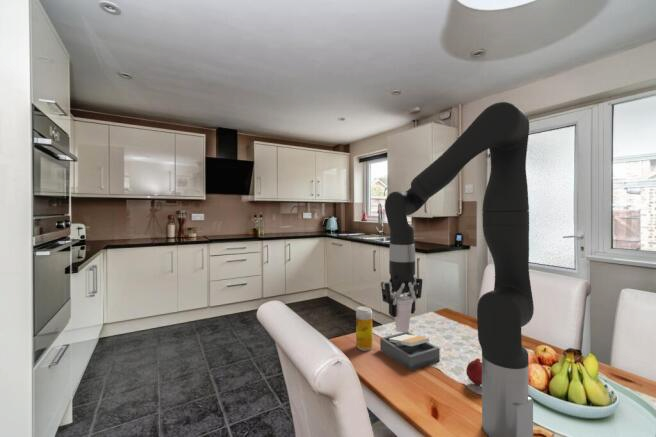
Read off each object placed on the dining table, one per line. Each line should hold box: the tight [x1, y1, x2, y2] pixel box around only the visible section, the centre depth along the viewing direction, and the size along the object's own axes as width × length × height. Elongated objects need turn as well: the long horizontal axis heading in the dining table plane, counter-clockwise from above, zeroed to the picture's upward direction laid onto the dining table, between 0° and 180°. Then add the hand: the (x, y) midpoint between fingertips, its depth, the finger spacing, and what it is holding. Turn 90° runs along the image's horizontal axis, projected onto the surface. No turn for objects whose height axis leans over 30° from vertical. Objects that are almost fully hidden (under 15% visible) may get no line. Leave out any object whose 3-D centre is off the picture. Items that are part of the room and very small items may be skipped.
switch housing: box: [379, 331, 441, 372], centre depth 104 cm, size 16×13×4 cm
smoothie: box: [393, 293, 413, 333], centre depth 87 cm, size 6×6×14 cm
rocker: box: [389, 334, 430, 347], centre depth 104 cm, size 12×10×2 cm
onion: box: [465, 357, 482, 386], centre depth 86 cm, size 6×6×8 cm
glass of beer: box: [355, 305, 374, 352], centre depth 110 cm, size 6×6×15 cm
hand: (402, 314), depth 87 cm, fingers closed on smoothie, 6 cm apart
